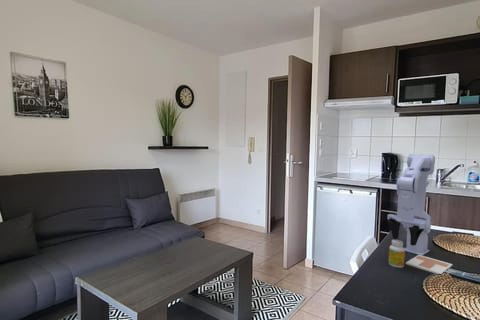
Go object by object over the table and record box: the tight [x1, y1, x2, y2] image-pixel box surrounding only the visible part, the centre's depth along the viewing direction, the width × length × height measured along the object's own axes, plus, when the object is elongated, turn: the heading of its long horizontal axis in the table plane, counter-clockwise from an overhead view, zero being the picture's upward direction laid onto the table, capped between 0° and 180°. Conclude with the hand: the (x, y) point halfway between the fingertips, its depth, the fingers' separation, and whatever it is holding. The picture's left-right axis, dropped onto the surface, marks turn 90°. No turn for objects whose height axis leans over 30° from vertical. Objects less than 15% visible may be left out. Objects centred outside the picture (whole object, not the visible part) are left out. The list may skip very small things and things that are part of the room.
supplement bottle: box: [388, 239, 406, 269], centre depth 112 cm, size 5×5×10 cm
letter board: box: [405, 254, 453, 275], centre depth 113 cm, size 14×12×1 cm
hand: (404, 241), depth 110 cm, fingers open, 7 cm apart
